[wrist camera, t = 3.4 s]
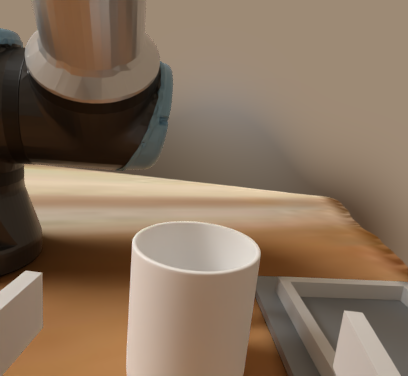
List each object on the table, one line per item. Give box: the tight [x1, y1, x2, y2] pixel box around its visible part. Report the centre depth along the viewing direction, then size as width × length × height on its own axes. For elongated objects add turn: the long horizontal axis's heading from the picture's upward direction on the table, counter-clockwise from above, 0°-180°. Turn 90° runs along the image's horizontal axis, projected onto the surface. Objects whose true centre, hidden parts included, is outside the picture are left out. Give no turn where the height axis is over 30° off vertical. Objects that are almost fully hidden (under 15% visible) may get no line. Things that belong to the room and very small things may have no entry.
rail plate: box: [255, 276, 408, 376], centre depth 30 cm, size 24×18×2 cm
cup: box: [126, 221, 261, 376], centre depth 27 cm, size 8×12×10 cm
